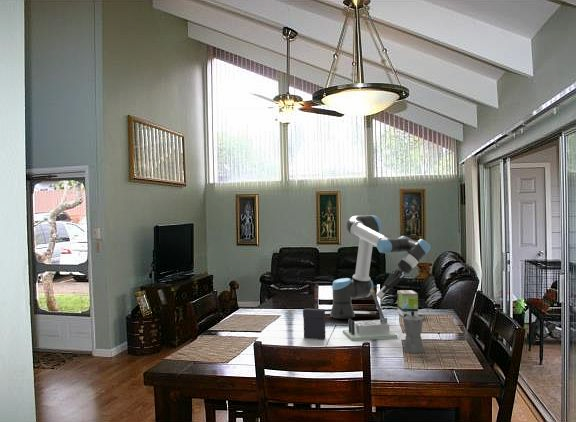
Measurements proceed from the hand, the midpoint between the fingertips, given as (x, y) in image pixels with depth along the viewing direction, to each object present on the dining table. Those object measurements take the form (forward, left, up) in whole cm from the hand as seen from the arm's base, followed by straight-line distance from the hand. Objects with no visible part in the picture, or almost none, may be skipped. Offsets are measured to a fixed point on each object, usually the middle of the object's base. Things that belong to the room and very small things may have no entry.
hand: (378, 296), depth 258 cm
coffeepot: (+30, -12, -20) cm, 38 cm away
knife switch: (-3, -5, -19) cm, 19 cm away
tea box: (-23, +53, -20) cm, 62 cm away
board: (-3, -5, -20) cm, 21 cm away
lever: (-1, -1, -5) cm, 5 cm away
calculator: (-18, -30, -20) cm, 40 cm away
